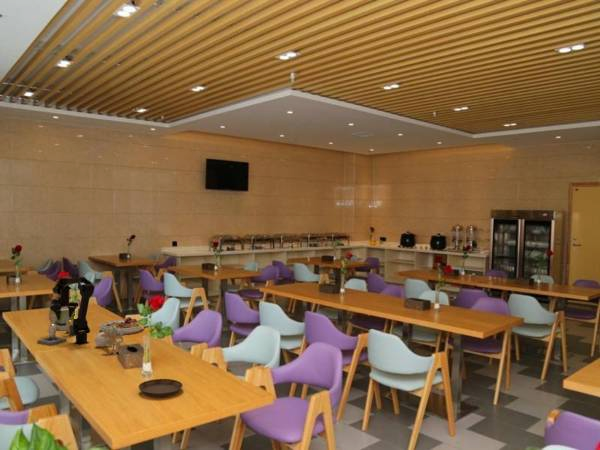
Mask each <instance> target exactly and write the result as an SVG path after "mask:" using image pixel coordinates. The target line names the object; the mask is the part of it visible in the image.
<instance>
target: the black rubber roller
mask: <svg viewBox="0 0 600 450" xmlns="http://www.w3.org/2000/svg"><path fill="white" fill-rule="evenodd" d="M69 337H76V335H75V334H74V333H73V324H72V325H70V334H69Z"/></svg>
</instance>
